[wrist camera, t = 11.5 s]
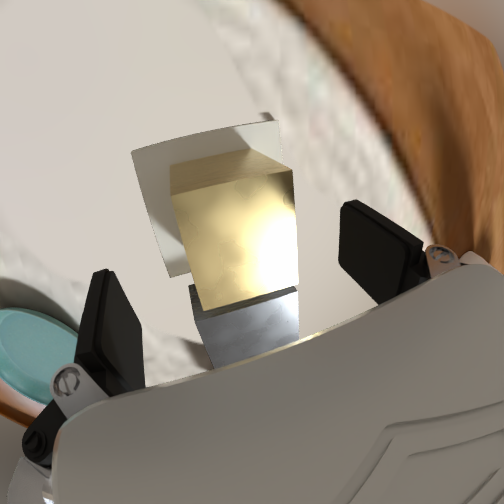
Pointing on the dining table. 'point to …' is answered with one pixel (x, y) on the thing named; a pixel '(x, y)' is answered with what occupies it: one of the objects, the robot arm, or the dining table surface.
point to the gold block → (236, 225)
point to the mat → (185, 149)
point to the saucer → (33, 351)
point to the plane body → (247, 325)
